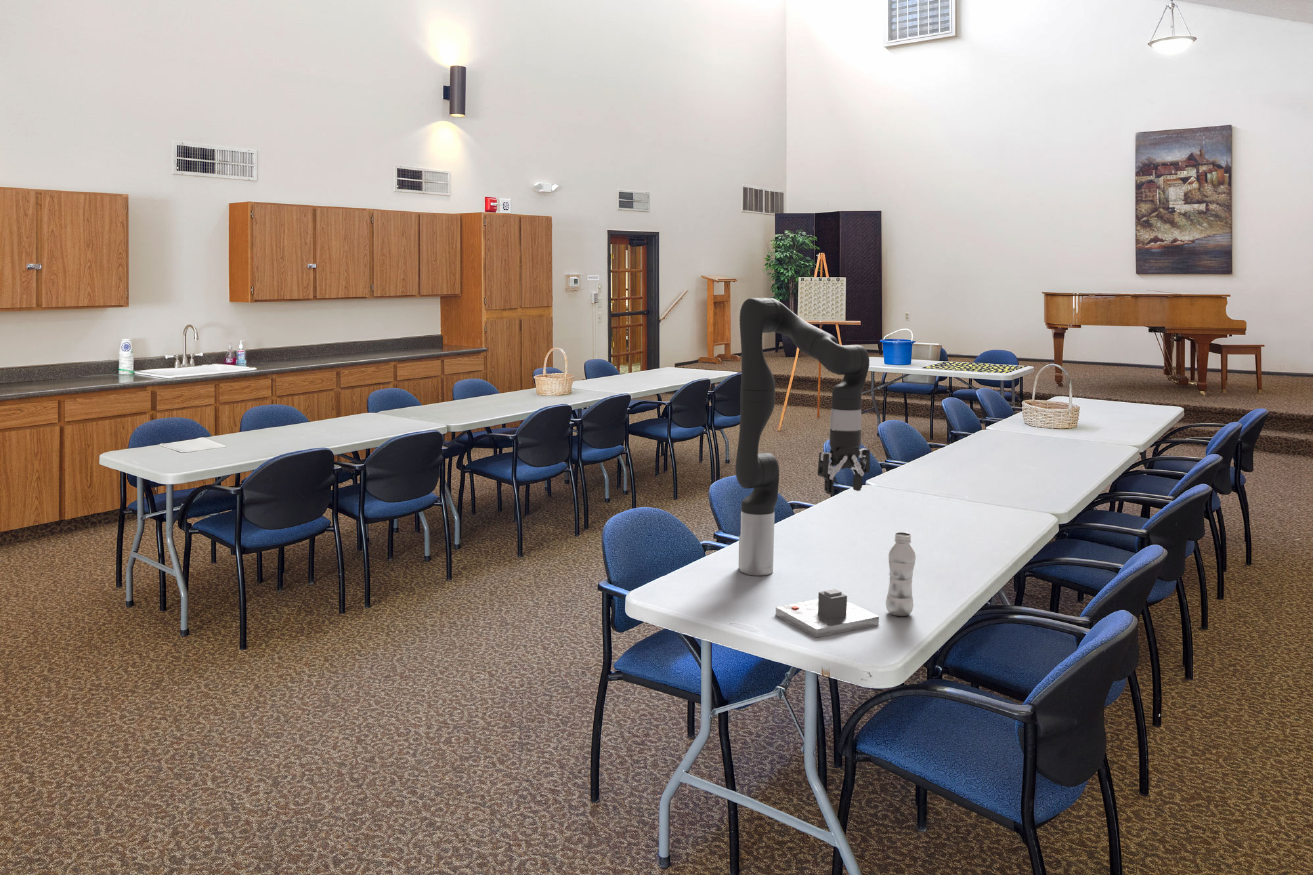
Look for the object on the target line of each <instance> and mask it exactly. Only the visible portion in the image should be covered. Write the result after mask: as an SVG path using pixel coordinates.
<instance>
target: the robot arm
mask: <svg viewBox="0 0 1313 875" xmlns="http://www.w3.org/2000/svg"><path fill="white" fill-rule="evenodd" d="M767 333H769V334H770V333H777V334H779V335H780V334H781V335H784V336H786V337H788V338H789V339H791V341H792V342H793V344H794V345H795V347H796V348H797V349H798V350H799V351H801V352H803V354H806V355H808V356H809V357H811V358H813V359H815V360H817V361H818V362H819V363H820V365H821V366H823V367H824V368H825V369H826V370H827V371H828V372H830V373H832V374H835V375H839V376H843V378H842V381H841V382H840V383H838V384H837V385H834V387H832V393H831V412H830V419H829V439H828V440H829V446H830V450H829V452H824V451H819V453H818V464H817V476H818V477H821V478H823V479H824V486H823V488H824V492H825V493H826V494H827V495H834V489H835V488H834V486H835V484H834V483H835V480H834V477H835V476H836V474H837V473H839V472H840V471H841V470H844V469H850V470H852V472H853V476H852V477H853V478H852V479H853V480H852V489H853V490H854V491H856V492H861V490H862V488H863V477H864V475H865V474H868V473H870V471H871V466H870V464H871V463H870V462H871V460H870V458H871V455H870V453H871V452H870V449H868V448H865V447H861V445H862V443H861V441H862V421H863V420H862V392H863V390H864V386H865V384H866V380H867V376H868V372H869V369H870V368H869V367H870V356H869V353H868V350H867V349H866V348H865V346H862V345H859V344H850V345H849V344H848V345H847V344H845V345H842V344H839V342H838V340H837V338H836V337H835V336H834V335H833V334H831V333H829V332H827V331H825V330H823V329H821V328H818V327H817V326H815V325H813V324H811V323H809V322H807V321H806V320H805V319H803V318H801V316H798V315H797V314H796V313H795V312H793V311H792V310H791V309H789V307H787V305H785V304H784V303H782V302H781V301H780V300H777V299H775V298H772V297H750V298H747V299H746V300H744V301H743V303H742V304H741V307H740V311H739V334H740V335H739V336H740V347H741V350H740V351H741V374H740V375H741V378H740V380H741V381H740V396H739V397H740V400H739V402H740V416H739V417H740V418H739V431H738V433H739V434H738V442H737V448H736V449H737V450H736V459H735V476H736V480H737V483H738V484H739V486H740V487H741V488H743V489H746V490H747V489H748V490H749V489H753V490H752V491H751V493H749V495H748V496H746V497H744V498H743V499H742V501H741V503H740V535H739V536H738V569H739V571H740V572H741V573H742V574H745V575H749V576H759V577H760V576H768V575H771V574H772V573H774V554H775V553H774V552H775V551H774V548H775V511H776V510H775V508H776V505H777V502H778V499H779V498H778V497H779V496H778V495H779V484H780V482H779V481H780V466H779V461H778V460H777V458H776V457H775V455H774V454H773V453H770V452H759V446H760V445H759V444H760V440H761V435H762V433H763V431H764V429H765V428H766V425H767V423H768V422H769V420H770V419H771V417H772V416H771V415H772V413H773V412H774V409H775V403H776V402H775V401H776V380H775V378H774V375H773V372H772V370H771V368H770V367H769V365H768V362H767V360H766V358H765V355H764V349H763V335H764V334H767ZM858 459H859V460H858Z"/></svg>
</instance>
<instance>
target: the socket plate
mask: <svg viewBox="0 0 1313 875" xmlns="http://www.w3.org/2000/svg"><path fill="white" fill-rule="evenodd" d="M775 616H776V617H778V618H781V619H782V620H784V621H785V622H787V623H789V624H791V625H793V626H795V627H796V628H798V629H800V630H802V631H803V632H806V633H807V634H809V635H810V636H813V637H814V638H821V637H822V638H823V637H826V636H831V635H836V634H840V633H841V634H842V633H844V632H849V631H854V630H859V629H863V628H864V629H865V628H869V627H873V626H874V627H875V626H878V625H879V620H880V616H879V615H877V614H875V613H873V612H870V611H869V610H866V609H865V608H862V607H860V606H858V605H856V604H854V603H851V602H849V601H847V612H846V616H845V617H840V618H835V619H830V618H828V617H826V616H824V615H822V614H820V613H818V599H811V600H807V601H801V602H796V603H790V604H785V605H781V606H780V605H779V606H776V607H775Z"/></svg>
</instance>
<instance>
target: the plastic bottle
mask: <svg viewBox="0 0 1313 875" xmlns="http://www.w3.org/2000/svg"><path fill="white" fill-rule="evenodd" d="M911 538H912V535H911V533H908V532H905V531H902V532H901V531H899V532H895V534H894V544H893V546H892V547H891V548H890V550H889V551H888V556H887V557H888V568H889V582H888V583H889V584H888V591H887V595H886V598H885V607H886V608H885V609H886V610H887V612H888V613H889V614H891V615H893V616H898V617H906V616H909V615H911V613H912V612H913V610H914V598H913V584H912V583H913V576H914V569H915V564H916V558H917V555H916V552H915V551H914V549H913V547H912V546H911V543H912V540H911Z"/></svg>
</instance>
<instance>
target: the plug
mask: <svg viewBox="0 0 1313 875" xmlns="http://www.w3.org/2000/svg"><path fill="white" fill-rule="evenodd" d="M842 592H843V591H840V590H838V589H836V588H832V589H828V590H822V591H818V613H820V614H822V615H824V616H826V617H828V618H830V619H835V618H840V617H845V616H846V612H847V602H848V595H846V594H844V593H842Z"/></svg>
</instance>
